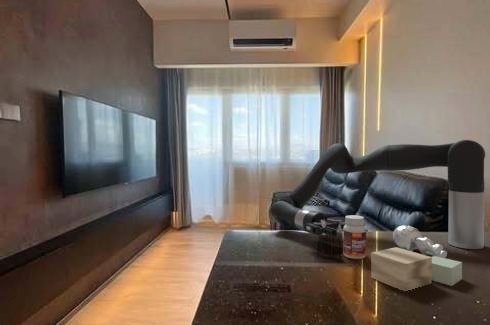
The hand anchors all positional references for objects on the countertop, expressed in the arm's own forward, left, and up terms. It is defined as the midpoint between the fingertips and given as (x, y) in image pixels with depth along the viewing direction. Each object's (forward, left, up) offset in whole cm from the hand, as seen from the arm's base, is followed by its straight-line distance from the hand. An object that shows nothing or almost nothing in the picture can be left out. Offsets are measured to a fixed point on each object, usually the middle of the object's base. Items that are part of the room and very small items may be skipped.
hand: (346, 231), depth 95 cm
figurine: (-17, +11, -7) cm, 21 cm away
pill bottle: (0, +3, -7) cm, 7 cm away
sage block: (-5, +25, -6) cm, 26 cm away
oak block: (+5, +21, -6) cm, 22 cm away
